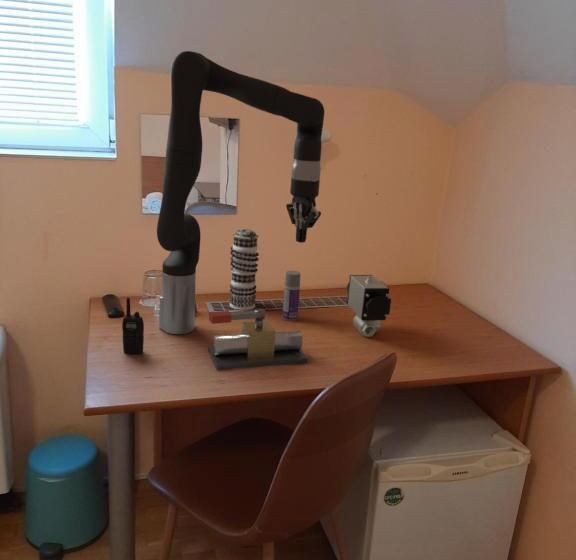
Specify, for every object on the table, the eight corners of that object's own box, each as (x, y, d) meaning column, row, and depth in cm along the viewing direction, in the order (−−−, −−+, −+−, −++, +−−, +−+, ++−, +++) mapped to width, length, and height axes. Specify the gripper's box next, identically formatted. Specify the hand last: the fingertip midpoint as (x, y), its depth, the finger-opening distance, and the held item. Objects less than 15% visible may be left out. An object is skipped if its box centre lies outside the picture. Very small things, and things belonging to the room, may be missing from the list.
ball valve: (390, 343, 170) (397, 285, 165) (362, 344, 168) (369, 285, 163) (367, 321, 187) (374, 267, 181) (342, 321, 184) (347, 267, 179)
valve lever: (262, 315, 154) (263, 308, 153) (266, 319, 151) (267, 312, 151) (208, 319, 149) (209, 312, 148) (211, 323, 146) (212, 316, 145)
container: (298, 316, 186) (302, 271, 182) (296, 321, 182) (299, 275, 177) (284, 315, 187) (287, 269, 182) (281, 320, 182) (284, 273, 178)
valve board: (216, 369, 146) (217, 330, 143) (208, 350, 157) (209, 312, 154) (307, 363, 154) (310, 325, 150) (293, 344, 164) (296, 309, 161)
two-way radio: (120, 353, 152) (119, 298, 147) (126, 346, 156) (125, 293, 152) (141, 355, 151) (141, 300, 147) (147, 348, 156) (146, 295, 151)
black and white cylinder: (222, 303, 193) (225, 229, 186) (246, 299, 199) (249, 226, 191) (237, 312, 186) (241, 235, 179) (261, 307, 192) (266, 232, 185)
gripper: (279, 174, 157) (275, 237, 162) (309, 181, 146) (304, 248, 151) (302, 173, 161) (297, 235, 166) (332, 180, 151) (326, 246, 156)
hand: (300, 241), depth 159 cm, fingers closed
